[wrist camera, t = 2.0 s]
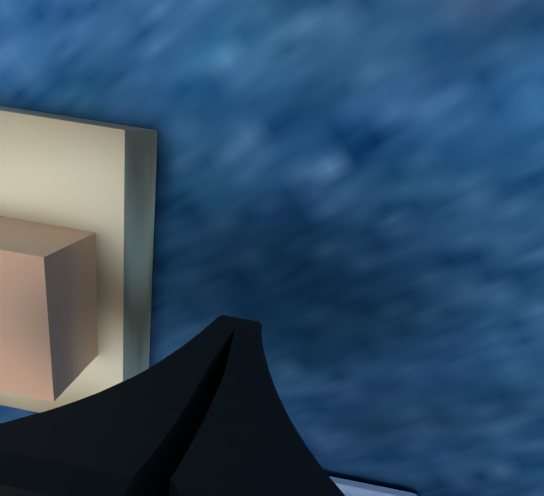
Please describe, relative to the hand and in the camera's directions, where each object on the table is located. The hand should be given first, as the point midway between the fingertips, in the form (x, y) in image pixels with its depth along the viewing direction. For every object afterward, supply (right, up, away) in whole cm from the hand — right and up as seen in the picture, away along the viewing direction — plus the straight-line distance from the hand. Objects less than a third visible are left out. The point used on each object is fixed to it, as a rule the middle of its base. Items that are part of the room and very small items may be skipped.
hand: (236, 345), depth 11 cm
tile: (-8, +2, +2) cm, 8 cm away
